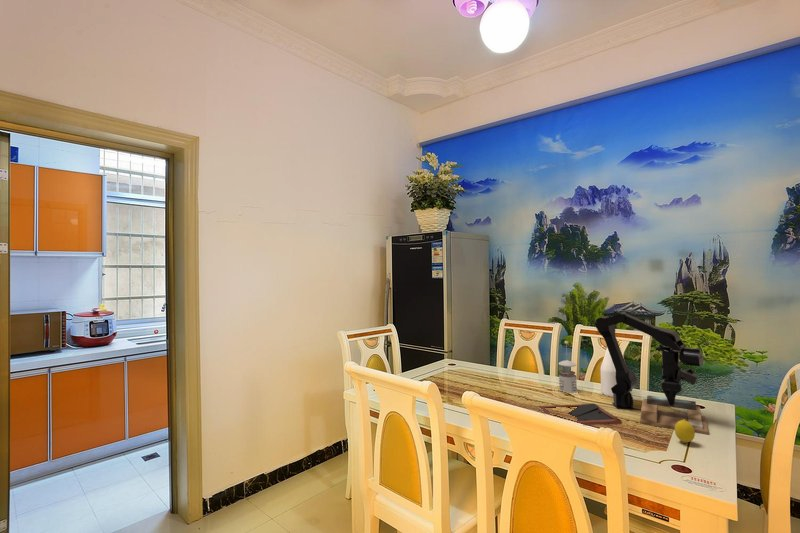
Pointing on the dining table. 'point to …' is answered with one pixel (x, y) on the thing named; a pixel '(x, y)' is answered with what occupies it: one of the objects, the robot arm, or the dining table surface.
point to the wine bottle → (607, 375)
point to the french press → (567, 381)
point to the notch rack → (672, 418)
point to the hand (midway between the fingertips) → (671, 402)
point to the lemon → (684, 431)
